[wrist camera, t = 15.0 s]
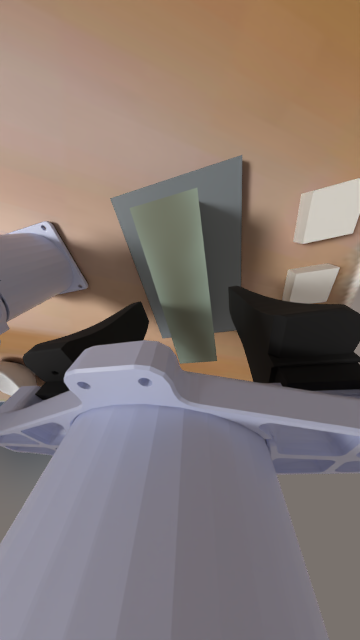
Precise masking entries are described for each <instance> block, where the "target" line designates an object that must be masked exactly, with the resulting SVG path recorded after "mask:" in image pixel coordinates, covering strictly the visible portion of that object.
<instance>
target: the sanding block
mask: <svg viewBox="0 0 360 640" xmlns="http://www.w3.org/2000/svg"><path fill="white" fill-rule="evenodd" d="M130 211H131V214H132V217H133V220H134V223H135V227H136V230H137V233H138V236H139V239H140V242H141V245H142V248H143V251H144V254H145V257H146V260H147V263H148V266H149V270H150V273H151V276H152V279H153V282H154V285H155V288H156V291H157V294H158V297H159V300H160V303H161V306H162V309H163V312H164V316H165V319H166V322H167V325H168V328H169V331H170V334H171V337H172V340H173V343H174V346H175V349H176V352H177V355H178V359H179V362H180V363H195V362H209V361H217V356H216V347H215V339H214V330H213V321H212V312H211V304H210V295H209V286H208V277H207V269H206V260H205V251H204V242H203V234H202V225H201V216H200V207H199V199H198V190H197V188H194V189H191V190H188V191H184V192H181V193H178V194H175V195H171V196H168V197H165V198H161V199H158V200H155V201H151V202H148V203H145V204H142V205H138V206H135V207H132V208H130Z"/></svg>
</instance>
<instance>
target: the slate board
mask: <svg viewBox="0 0 360 640" xmlns="http://www.w3.org/2000/svg"><path fill="white" fill-rule="evenodd" d="M194 188H197V190H198V199H199V207H200V216H201V225H202V234H203V242H204V251H205V260H206V269H207V277H208V286H209V295H210V304H211V312H212V321H213V330H214V333H216V332H225V331H234V330H236V328H235V326H234V324H233V321H232V319H231V315H230V311H229V293H228V287H231V286H240V287H241V220H242V155H241V156H238V157H235V158H232V159H229V160H226V161H223V162H220V163H216V164H213V165H210V166H207V167H204V168H201V169H198V170H195V171H192V172H189V173H186V174H183V175H180V176H177V177H174V178H171V179H168V180H165V181H162V182H159V183H156V184H153V185H150V186H147V187H144V188H141V189H138V190H135V191H132V192H129V193H126V194H123V195H119V196H116V197H113V198H110V199H111V202H112V204H113V207H114V210H115V212H116V215H117V218H118V220H119V223H120V226H121V228H122V231H123V234H124V236H125V239H126V242H127V244H128V247H129V250H130V252H131V255H132V258H133V260H134V263H135V266H136V268H137V271H138V274H139V276H140V279H141V282H142V284H143V287H144V290H145V292H146V295H147V298H148V300H149V303H150V306H151V309H152V311H153V314H154V317H155V319H156V322H157V325H158V327H159V330H160V333H161V335H162V338H170V337H171V334H170V331H169V328H168V325H167V322H166V319H165V316H164V312H163V309H162V306H161V303H160V300H159V297H158V294H157V291H156V288H155V285H154V282H153V279H152V276H151V273H150V270H149V266H148V263H147V260H146V257H145V254H144V251H143V248H142V245H141V242H140V239H139V236H138V233H137V230H136V227H135V223H134V220H133V217H132V214H131V211H130V208H132V207H135V206H138V205H142V204H145V203H148V202H151V201H155V200H158V199H161V198H165V197H168V196H171V195H175V194H178V193H181V192H184V191H188V190H191V189H194Z"/></svg>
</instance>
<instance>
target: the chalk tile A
mask: <svg viewBox="0 0 360 640" xmlns="http://www.w3.org/2000/svg"><path fill="white" fill-rule="evenodd" d="M339 269H340V267H337V266H334V265H331V264H328V263H326V264H320V265H314V266H307V267H301V268H295V269H288V273H287V278H286V282H285V287H284V292H283V297H282V300H283V301H289V302H296V303H307V304H311V303H320V302H326V301H327V299H328V296H329V294H330V291H331V289H332V286H333V284H334V281H335V279H336V276H337V274H338V271H339Z"/></svg>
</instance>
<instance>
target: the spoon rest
mask: <svg viewBox="0 0 360 640" xmlns="http://www.w3.org/2000/svg"><path fill="white" fill-rule="evenodd" d="M22 386H37V383H36V378H35V374H34V373H33V372H32V371H31V370H30V369H29V368H27V367H26V366H24V365H21V364H18V363H14V362H5V361H0V391H2V392H4V393H6V394H8V395H10V396H12V395H13V394H14V393H15V392H16V391H17V390H18V389H19V388H20V387H22Z"/></svg>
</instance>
